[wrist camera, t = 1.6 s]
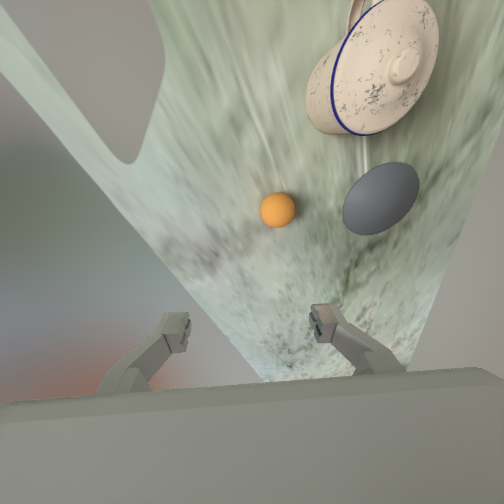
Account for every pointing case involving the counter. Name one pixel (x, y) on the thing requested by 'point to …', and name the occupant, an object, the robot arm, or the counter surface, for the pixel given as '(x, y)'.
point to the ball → (277, 210)
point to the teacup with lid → (374, 68)
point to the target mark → (380, 198)
